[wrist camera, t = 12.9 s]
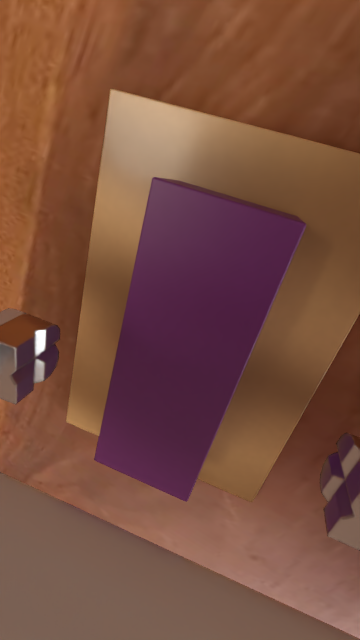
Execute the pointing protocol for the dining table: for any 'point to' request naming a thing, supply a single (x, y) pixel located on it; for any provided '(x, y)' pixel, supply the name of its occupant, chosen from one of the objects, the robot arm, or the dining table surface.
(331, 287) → the wooden board
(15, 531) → the robot arm
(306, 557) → the dining table surface
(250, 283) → the purple rectangular block
